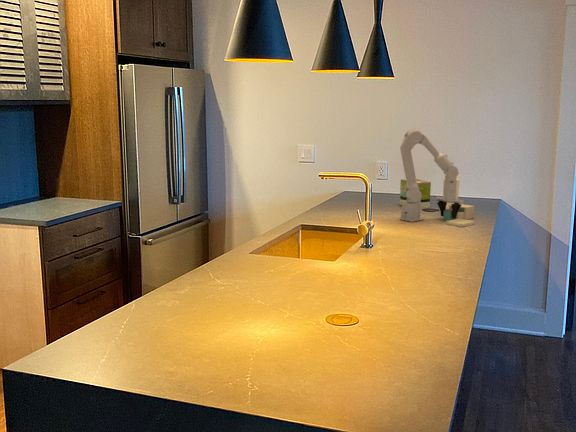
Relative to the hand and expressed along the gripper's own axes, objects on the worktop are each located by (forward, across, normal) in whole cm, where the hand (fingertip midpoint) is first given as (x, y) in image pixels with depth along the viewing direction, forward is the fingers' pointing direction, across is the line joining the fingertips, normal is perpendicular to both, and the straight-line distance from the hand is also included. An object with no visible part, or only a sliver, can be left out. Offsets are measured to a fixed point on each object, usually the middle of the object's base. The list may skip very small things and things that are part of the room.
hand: (448, 217), depth 322 cm
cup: (+2, +20, -31) cm, 37 cm away
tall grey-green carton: (+2, 0, -2) cm, 2 cm away
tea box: (+2, +34, -18) cm, 39 cm away
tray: (+1, -10, +5) cm, 11 cm away
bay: (+1, 0, -8) cm, 8 cm away
